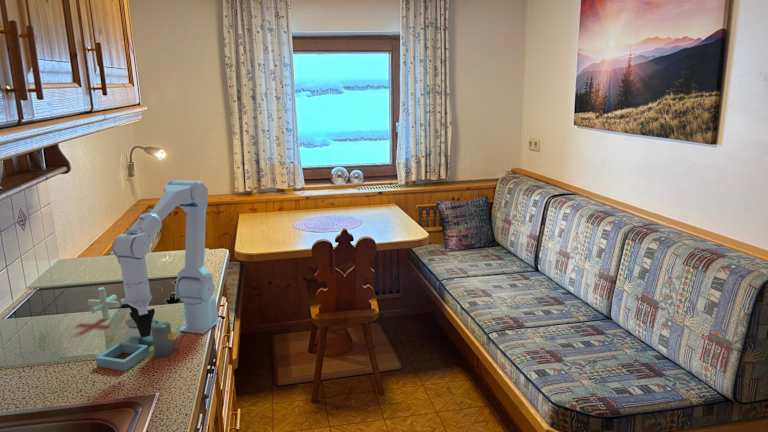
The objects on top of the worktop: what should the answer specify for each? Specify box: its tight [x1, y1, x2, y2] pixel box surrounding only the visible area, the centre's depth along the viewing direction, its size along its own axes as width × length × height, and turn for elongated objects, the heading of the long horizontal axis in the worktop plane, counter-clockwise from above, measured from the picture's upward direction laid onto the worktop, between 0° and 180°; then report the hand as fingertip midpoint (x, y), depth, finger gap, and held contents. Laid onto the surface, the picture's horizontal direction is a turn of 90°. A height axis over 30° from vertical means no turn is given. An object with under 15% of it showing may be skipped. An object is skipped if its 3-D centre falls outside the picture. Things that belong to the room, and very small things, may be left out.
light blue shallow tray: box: [95, 341, 151, 372], centre depth 148 cm, size 9×9×2 cm
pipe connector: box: [87, 286, 121, 321], centre depth 172 cm, size 10×10×10 cm
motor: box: [124, 316, 160, 347], centre depth 157 cm, size 11×7×7 cm
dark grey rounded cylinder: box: [151, 321, 178, 359], centre depth 150 cm, size 5×6×8 cm
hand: (143, 330), depth 143 cm, fingers open, 7 cm apart
